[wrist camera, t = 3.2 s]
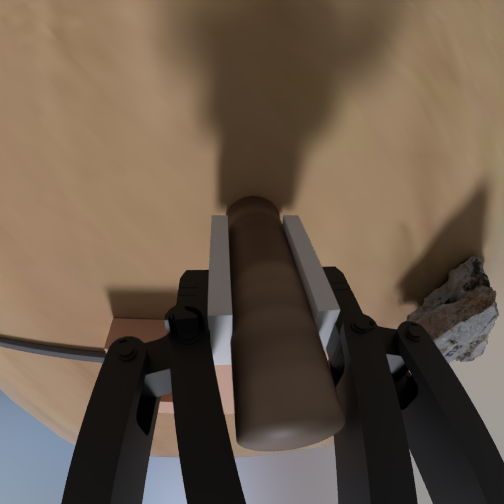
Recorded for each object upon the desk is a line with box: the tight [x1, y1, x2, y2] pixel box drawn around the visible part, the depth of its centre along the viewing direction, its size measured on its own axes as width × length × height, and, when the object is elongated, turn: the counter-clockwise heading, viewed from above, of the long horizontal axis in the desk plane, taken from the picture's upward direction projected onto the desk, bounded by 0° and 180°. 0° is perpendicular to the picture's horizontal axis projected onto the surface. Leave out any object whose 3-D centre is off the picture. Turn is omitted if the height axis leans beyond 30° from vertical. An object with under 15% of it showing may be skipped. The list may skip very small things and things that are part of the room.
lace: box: [0, 338, 106, 363], centre depth 22 cm, size 1×16×1 cm, turn 87°
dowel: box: [227, 196, 345, 451], centre depth 12 cm, size 3×3×12 cm
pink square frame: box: [104, 318, 235, 414], centre depth 22 cm, size 10×10×3 cm
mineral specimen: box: [406, 256, 499, 364], centre depth 20 cm, size 10×8×10 cm
